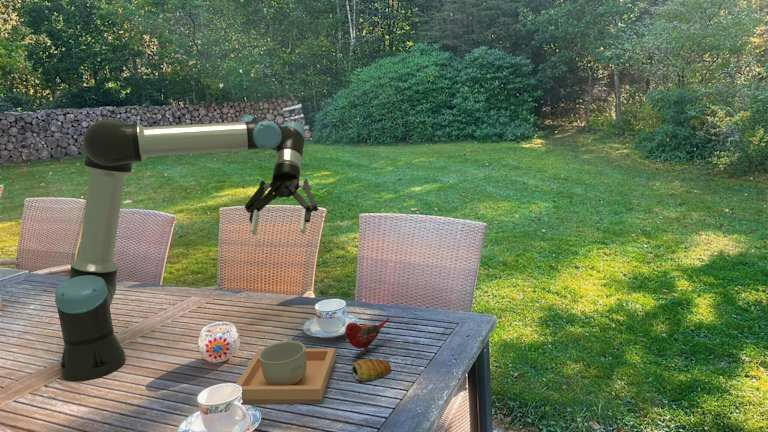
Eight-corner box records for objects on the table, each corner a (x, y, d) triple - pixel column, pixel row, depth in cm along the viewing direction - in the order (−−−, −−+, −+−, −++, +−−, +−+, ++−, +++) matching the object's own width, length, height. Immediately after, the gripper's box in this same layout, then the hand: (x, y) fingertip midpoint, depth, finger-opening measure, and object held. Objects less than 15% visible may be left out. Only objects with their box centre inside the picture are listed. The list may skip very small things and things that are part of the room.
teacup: (301, 393, 129) (298, 361, 127) (255, 392, 130) (251, 360, 128) (315, 364, 142) (313, 334, 141) (273, 363, 144) (270, 334, 142)
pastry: (384, 364, 143) (384, 350, 142) (395, 376, 137) (394, 362, 136) (349, 372, 140) (348, 358, 139) (358, 385, 134) (358, 370, 133)
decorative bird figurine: (341, 361, 145) (339, 325, 143) (386, 336, 158) (384, 303, 156) (350, 364, 143) (347, 327, 141) (394, 339, 156) (393, 305, 154)
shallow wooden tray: (233, 403, 128) (232, 389, 127) (259, 361, 147) (258, 349, 147) (321, 403, 126) (320, 389, 125) (335, 360, 146) (334, 348, 145)
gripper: (332, 175, 166) (325, 238, 155) (249, 178, 169) (237, 240, 157) (327, 159, 160) (320, 223, 148) (241, 162, 162) (228, 226, 151)
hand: (277, 232), depth 153 cm, fingers open, 13 cm apart
